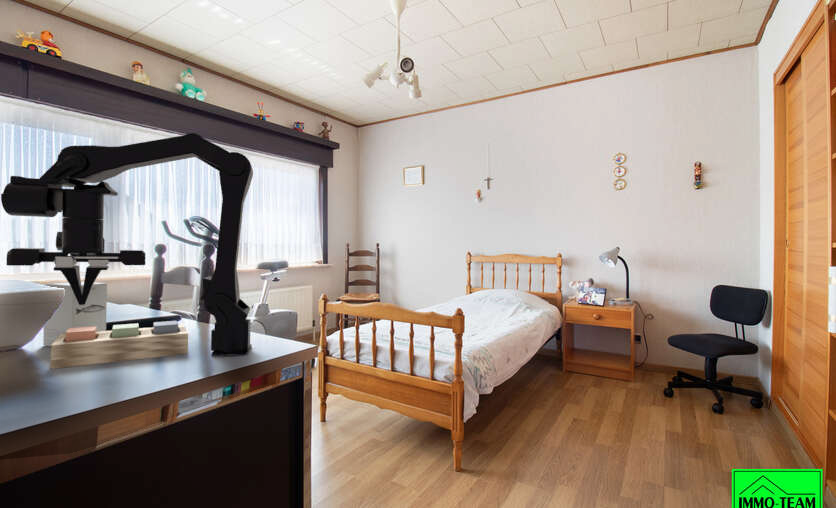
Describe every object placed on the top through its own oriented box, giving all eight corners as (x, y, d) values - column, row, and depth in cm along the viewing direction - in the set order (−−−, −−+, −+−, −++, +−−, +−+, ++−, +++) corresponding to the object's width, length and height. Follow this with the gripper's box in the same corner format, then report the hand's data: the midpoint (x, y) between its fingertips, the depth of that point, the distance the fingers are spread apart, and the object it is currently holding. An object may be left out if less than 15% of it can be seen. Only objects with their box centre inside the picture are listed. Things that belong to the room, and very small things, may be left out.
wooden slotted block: (183, 343, 86) (183, 324, 86) (187, 353, 79) (188, 333, 79) (59, 355, 75) (59, 334, 74) (51, 368, 67) (51, 345, 67)
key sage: (138, 335, 79) (138, 323, 79) (138, 340, 76) (138, 327, 76) (113, 337, 77) (113, 325, 77) (111, 342, 74) (112, 329, 74)
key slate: (176, 332, 83) (176, 320, 83) (177, 336, 80) (178, 324, 80) (153, 334, 81) (153, 322, 81) (154, 338, 77) (154, 326, 77)
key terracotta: (96, 339, 76) (96, 326, 76) (94, 344, 72) (94, 330, 72) (68, 341, 73) (68, 328, 73) (65, 346, 70) (65, 332, 70)
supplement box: (71, 349, 79) (72, 285, 79) (41, 346, 80) (42, 283, 80) (107, 340, 86) (108, 282, 86) (79, 338, 88) (80, 280, 87)
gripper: (145, 222, 84) (143, 296, 85) (22, 217, 73) (21, 301, 74) (146, 221, 75) (144, 304, 76) (6, 214, 64) (5, 310, 65)
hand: (82, 304), depth 73 cm, fingers closed
